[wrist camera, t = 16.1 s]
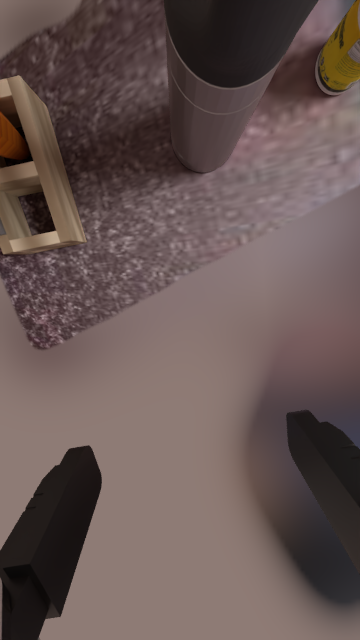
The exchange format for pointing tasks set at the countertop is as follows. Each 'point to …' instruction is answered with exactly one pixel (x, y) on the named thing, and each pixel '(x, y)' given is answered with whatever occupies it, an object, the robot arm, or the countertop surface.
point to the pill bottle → (341, 55)
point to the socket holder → (34, 177)
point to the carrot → (11, 141)
